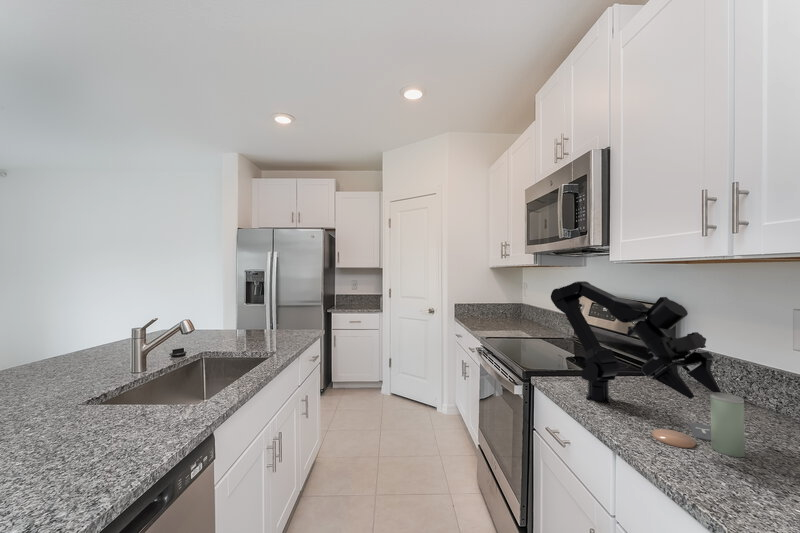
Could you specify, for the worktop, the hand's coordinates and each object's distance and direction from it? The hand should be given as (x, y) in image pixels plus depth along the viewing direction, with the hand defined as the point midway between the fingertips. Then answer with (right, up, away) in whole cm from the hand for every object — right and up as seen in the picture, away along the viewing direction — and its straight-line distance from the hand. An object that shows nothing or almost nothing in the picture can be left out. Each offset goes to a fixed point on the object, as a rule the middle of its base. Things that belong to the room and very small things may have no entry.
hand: (705, 395), depth 79 cm
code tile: (+5, -11, +4) cm, 13 cm away
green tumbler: (+1, -11, -4) cm, 12 cm away
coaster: (-7, -11, +1) cm, 13 cm away
